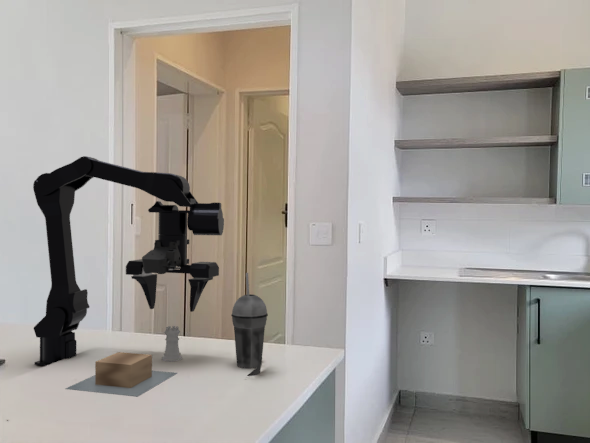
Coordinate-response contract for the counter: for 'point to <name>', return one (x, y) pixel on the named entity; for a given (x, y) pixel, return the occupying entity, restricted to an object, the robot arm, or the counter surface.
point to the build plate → (134, 391)
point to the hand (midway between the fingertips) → (171, 310)
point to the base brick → (123, 369)
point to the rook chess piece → (172, 344)
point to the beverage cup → (249, 330)
